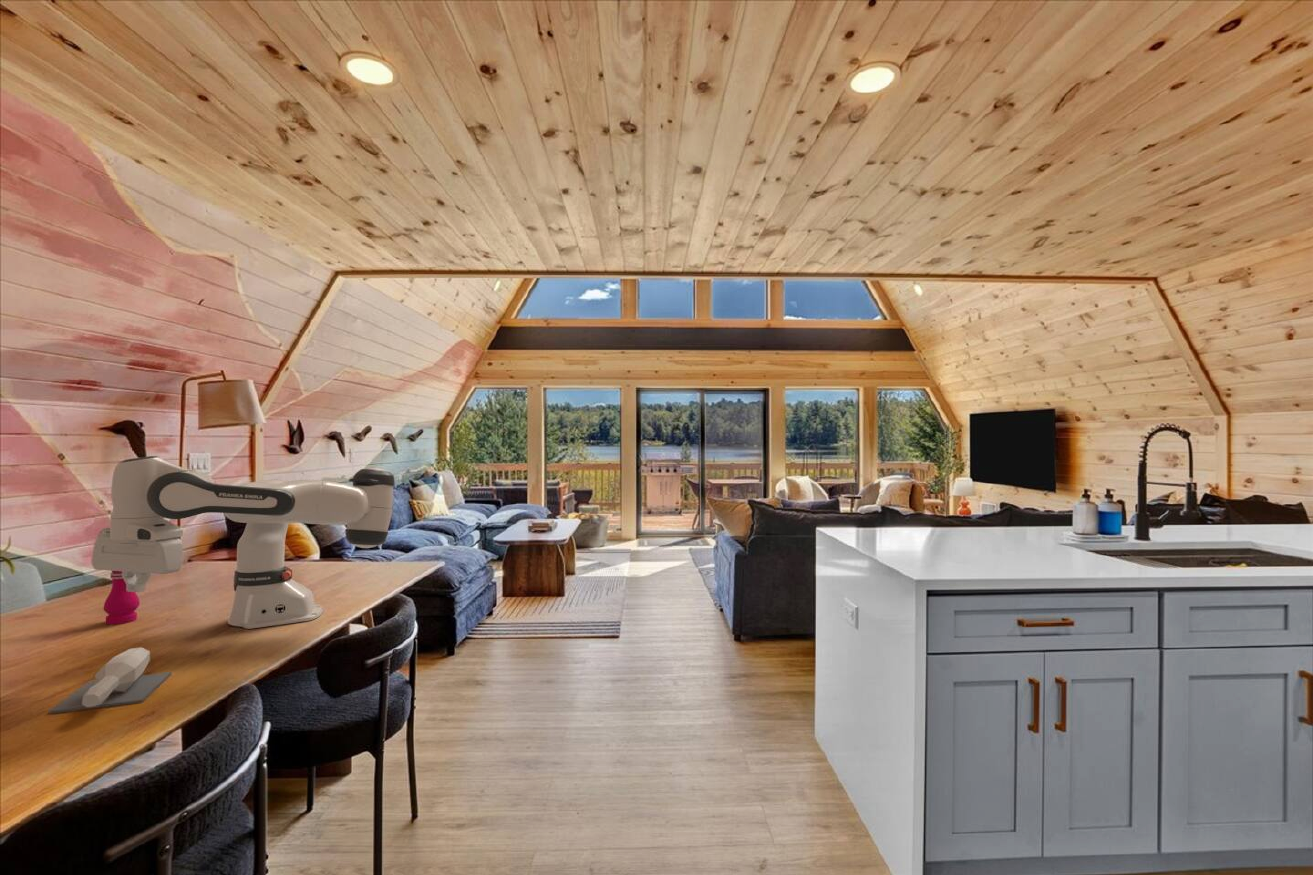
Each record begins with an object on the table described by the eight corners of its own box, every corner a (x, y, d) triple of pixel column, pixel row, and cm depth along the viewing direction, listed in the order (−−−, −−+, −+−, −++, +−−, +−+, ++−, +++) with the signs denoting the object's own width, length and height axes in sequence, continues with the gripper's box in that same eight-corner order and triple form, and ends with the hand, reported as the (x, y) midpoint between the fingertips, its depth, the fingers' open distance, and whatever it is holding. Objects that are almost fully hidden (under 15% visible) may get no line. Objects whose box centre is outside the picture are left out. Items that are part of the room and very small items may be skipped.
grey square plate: (171, 674, 122) (171, 671, 122) (142, 702, 109) (142, 699, 109) (89, 683, 117) (89, 681, 117) (48, 713, 104) (48, 711, 104)
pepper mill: (108, 627, 151) (110, 551, 151) (99, 622, 155) (101, 548, 155) (143, 620, 157) (145, 548, 157) (133, 615, 161) (135, 545, 161)
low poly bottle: (161, 646, 123) (120, 685, 104) (148, 675, 122) (104, 720, 103) (125, 640, 121) (76, 680, 101) (111, 670, 120) (59, 716, 100)
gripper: (82, 529, 125) (81, 592, 124) (160, 533, 121) (159, 598, 121) (114, 525, 131) (113, 584, 131) (189, 529, 127) (188, 590, 127)
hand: (135, 591), depth 126 cm, fingers closed
